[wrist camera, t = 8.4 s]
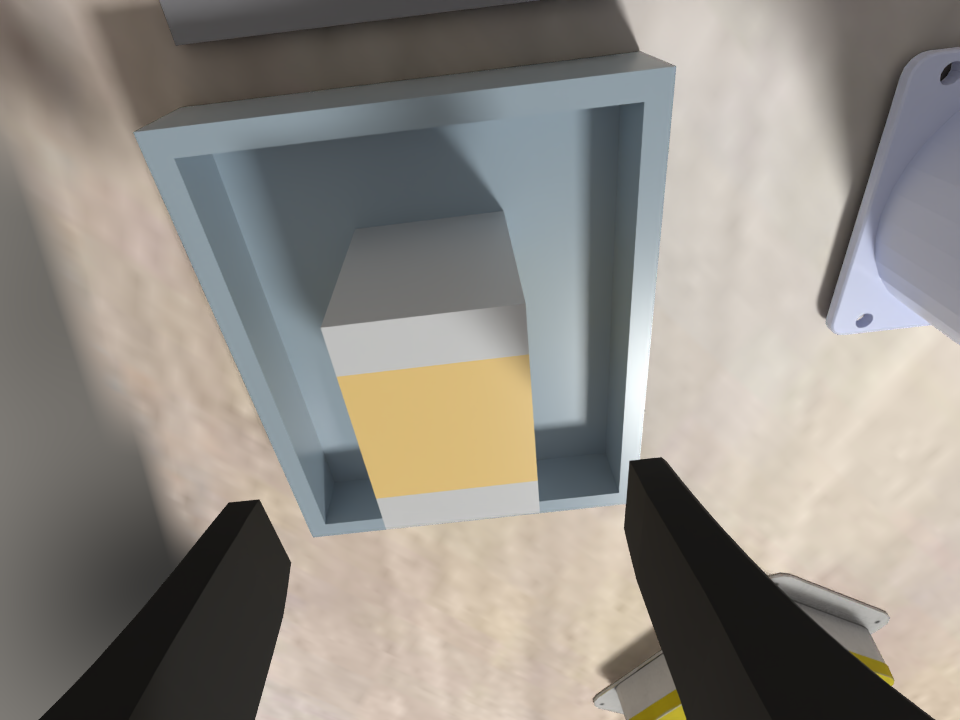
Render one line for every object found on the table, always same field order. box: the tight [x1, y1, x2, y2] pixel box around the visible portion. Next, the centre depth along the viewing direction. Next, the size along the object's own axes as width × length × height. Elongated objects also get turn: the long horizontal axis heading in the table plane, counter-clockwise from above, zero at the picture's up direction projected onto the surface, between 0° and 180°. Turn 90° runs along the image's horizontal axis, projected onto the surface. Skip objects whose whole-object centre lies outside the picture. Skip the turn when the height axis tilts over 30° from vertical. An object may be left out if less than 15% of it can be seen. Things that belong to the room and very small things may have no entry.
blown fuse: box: [321, 211, 540, 529], centre depth 15 cm, size 4×6×5 cm, turn 6°
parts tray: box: [133, 51, 676, 537], centre depth 16 cm, size 11×13×2 cm
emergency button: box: [594, 574, 894, 720], centre depth 30 cm, size 9×4×15 cm
